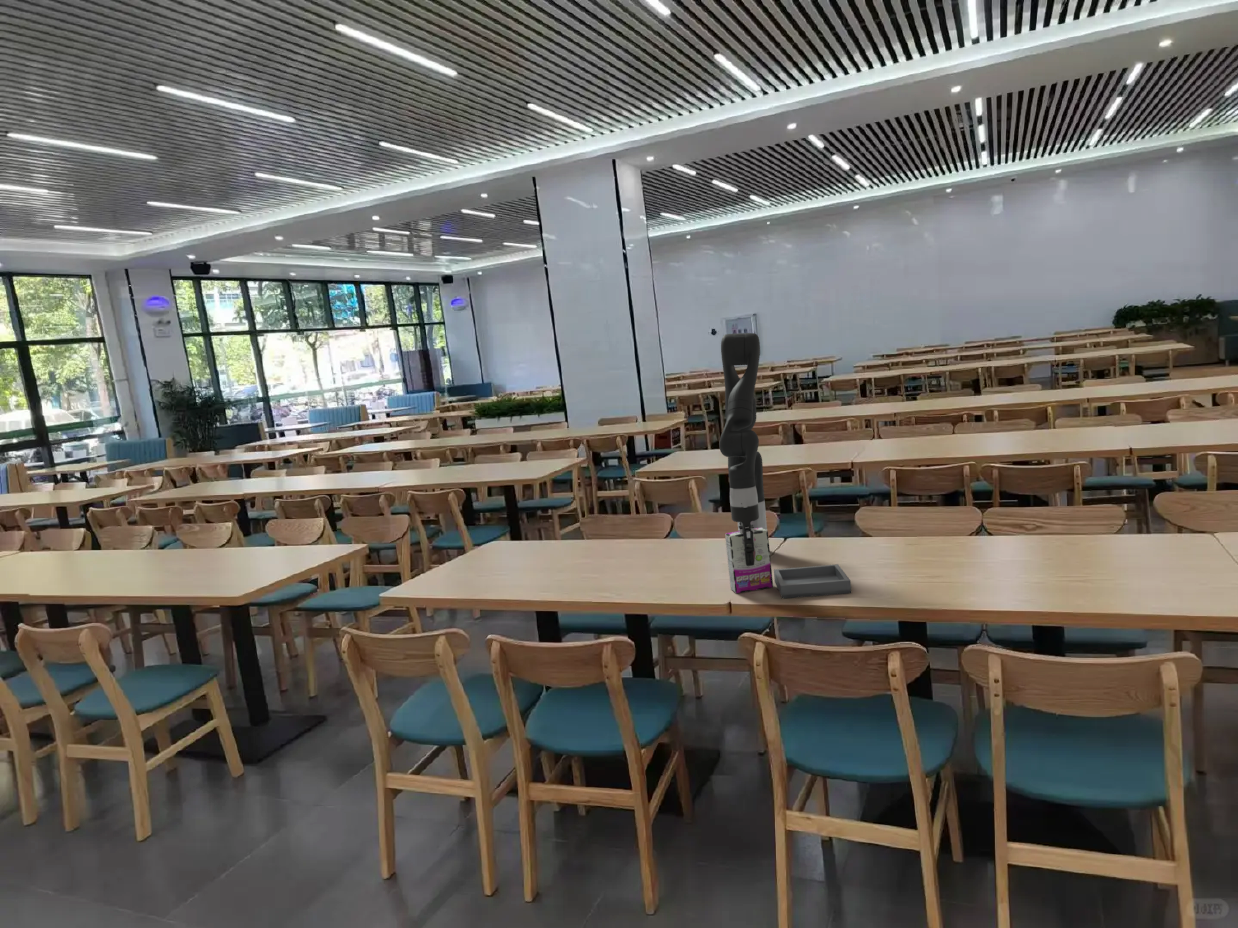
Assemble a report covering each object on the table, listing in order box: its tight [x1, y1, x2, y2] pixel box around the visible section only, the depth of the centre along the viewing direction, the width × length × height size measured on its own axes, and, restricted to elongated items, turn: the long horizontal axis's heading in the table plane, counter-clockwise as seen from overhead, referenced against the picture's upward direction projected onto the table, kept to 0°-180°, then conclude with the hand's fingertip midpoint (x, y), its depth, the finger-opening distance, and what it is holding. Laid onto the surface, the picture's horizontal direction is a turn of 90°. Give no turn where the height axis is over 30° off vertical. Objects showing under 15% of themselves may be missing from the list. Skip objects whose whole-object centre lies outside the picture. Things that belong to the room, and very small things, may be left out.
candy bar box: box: [724, 527, 774, 594], centre depth 221 cm, size 11×5×16 cm, turn 101°
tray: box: [773, 563, 852, 599], centre depth 217 cm, size 16×18×4 cm
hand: (749, 562), depth 221 cm, fingers closed on candy bar box, 5 cm apart
